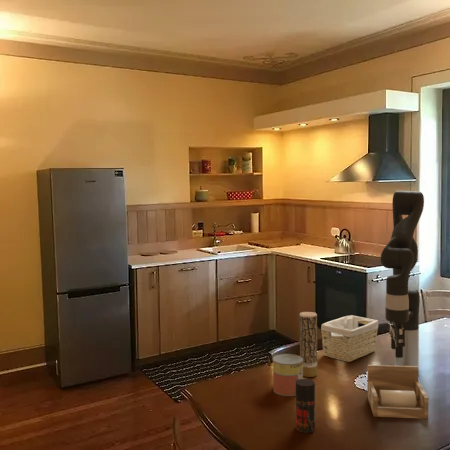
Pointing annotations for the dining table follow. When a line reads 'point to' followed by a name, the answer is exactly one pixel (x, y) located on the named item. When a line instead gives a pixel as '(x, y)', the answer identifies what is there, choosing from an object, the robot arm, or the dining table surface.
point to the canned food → (286, 373)
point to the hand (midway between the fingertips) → (396, 353)
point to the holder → (396, 380)
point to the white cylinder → (397, 398)
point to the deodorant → (305, 405)
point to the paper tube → (308, 343)
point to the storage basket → (349, 337)
